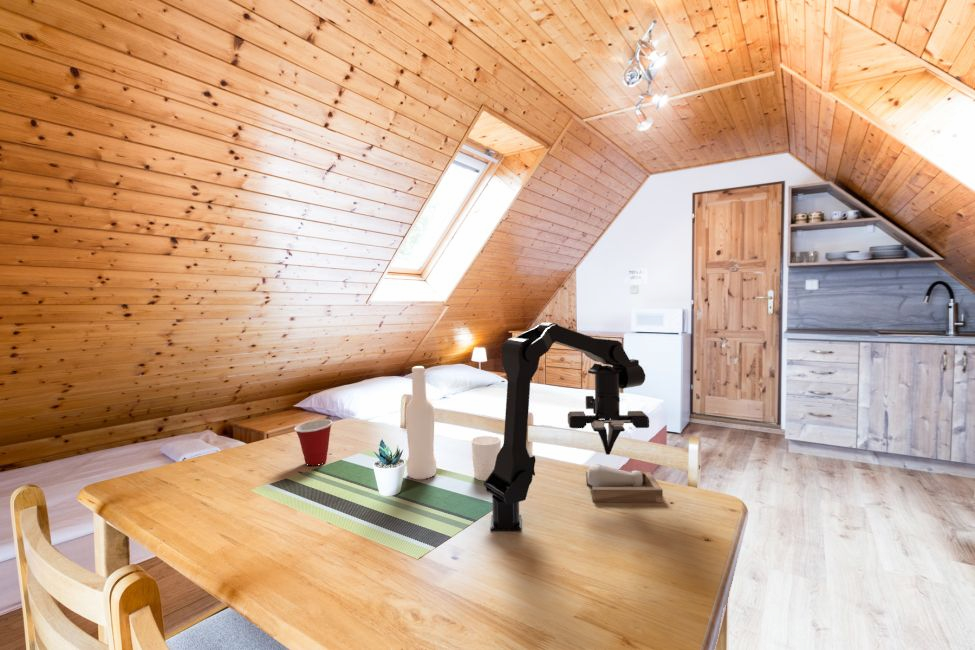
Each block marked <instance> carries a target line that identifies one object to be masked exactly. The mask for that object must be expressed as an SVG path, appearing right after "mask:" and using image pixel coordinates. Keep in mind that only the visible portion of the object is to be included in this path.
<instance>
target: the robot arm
mask: <svg viewBox="0 0 975 650" xmlns="http://www.w3.org/2000/svg"><path fill="white" fill-rule="evenodd" d="M553 344H556V345H560V346H563V347H565V348H566V347H567V348H569V349H572V350H575V351H578V352H581V353H582V354H584V355H585V356H586V357H587V358H589V360H592V361H594V362H597V363H594V364H593V365H592V366H591V367H589V369H588V370H587V373H588V374H592V375H594V396H593V395H586V396H585V409H586V410H592V411H593V414H594V415H588V414H587V415H586V413H585V412H584V411H577V410H576V411H574V410H573V411H569V412H568V413H567V424H568V426H569V428H570V429H585V427H586V426H587V424H590V426H591V428H592V430H593V432H597V433H598V435H599V437H600V439H601V443H602V446H603V450H604V452H605V455H610V454H611V452H612V450H613V447H614V445H615V443H616V441H617V439H618V437H619V435H620V433H621V432H625V431H626V430H625V428H624V425H625V424H632V426H634V427H635V428H636V429H649V428H650V418H649V416H648V415H647V414H646V413H644V411H643V410H628V411H627V414H623V415H621V414H620V399H621V398H620V390H621V389H622V390H623V389H629V388H635V387H640V386H642V385H643V384H644V383H645V381H646V373H645V371H644V369H643V367H642V365H640V364H639V363H640V361H639V359H634V358H633V359H630V358H629V356H628V355H627V353H626V351H625V349H624V347H623V342H621V341H619V340H614V339H607V338H606V339H605V338H599V337H598V338H597V337H593V336H589V335H587V334H583V333H581V332H578V331H575V330H572V329H569V328H566V327H563V326H562V325H559V324H558V323H556V322H555V323H554V322H541V323H539V324H538V325H536V326H534V327H532V328H531V329H529V330H527V331H524V332H522V333H520V334H518V335H516V336H515V337H510V338H508V339H507V340H505V342H504V343H502V346H501V359H502V360H501V361H502V362H501V364H502V367H503V369H504V373H505V375H506V378H507V385H506V387H507V388H506V401H505V402H506V403H505V417H504V418H505V419H504V431H503V432H504V434H503V445H502V446H501V450H500V451H499V453H498V455H497V457H496V462H495V467H494V470H493V471H492V473H491V474H490V475H489V477H488V478H487V480H486V481H483V486H484V488H485V491H486V492H487V493H490V494H491V498H492V499H491V500H492V503H491V504H492V505H491V506H492V514H491V519H490V525H489V527H490V529H489V530H490V531H511V532H512V531H513V532H514V531H522V514H520V502H524V501H525V500H526V499H527V497H528V493H529V488H530V486H531V485H532V481H533V478H534V476H536V472H535V466H536V456H535V455H533V454H531V453H529V451H528V449H527V438H528V427H529V426H528V422H529V410H530V409H529V408H530V391H531V381H532V379H533V377H534V376H535V374H536V373H537V370H538V368H539V365H540V358H541V357H542V356H544V355H546V354H547V353H548V352H549V350H551V348H552V346H553ZM602 364H603V365H602ZM605 424H608V425H607V427H608V432H607V428H606V426H605Z"/></svg>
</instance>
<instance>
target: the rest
mask: <svg viewBox="0 0 975 650" xmlns="http://www.w3.org/2000/svg"><path fill="white" fill-rule="evenodd" d="M630 472H631V473H632V471H630ZM640 472H641V474H642V477H643V483H642V487H632V486H621V487H593V486H591V485H590V484H588V480H587V473H588V470H586V471H585V478H586V479H585V482H586V485H587V486H591V500H592V503H663V498H664V496H663V488H662V487H661V486H660V484H659V483H658V481H657V479H656V478H655V477H654V475H653V474H652V473H651V472H650V471H640Z"/></svg>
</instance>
